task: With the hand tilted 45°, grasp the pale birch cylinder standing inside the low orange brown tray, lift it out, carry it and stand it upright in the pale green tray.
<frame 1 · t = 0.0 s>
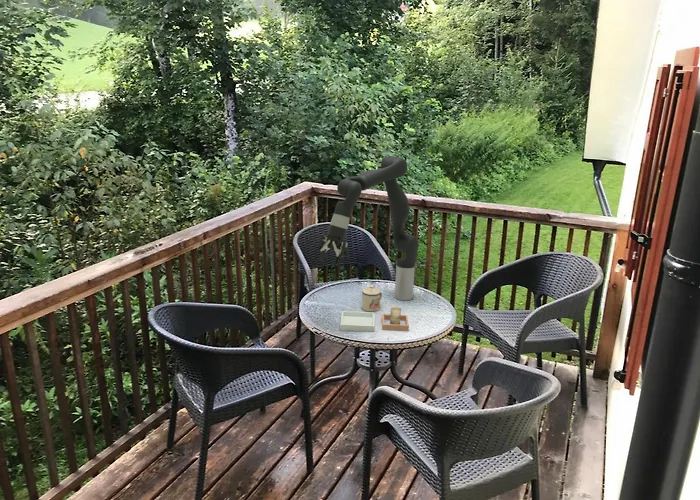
hand: (328, 263, 237), 31 cm above the table, tool tilted 20°, fingers open, 8 cm apart
orange brown tray: (394, 324, 255), on the table
teacup with lid: (372, 307, 273), on the table
pale green tray: (357, 324, 254), on the table
birch cylinder: (395, 316, 254), in the orange brown tray
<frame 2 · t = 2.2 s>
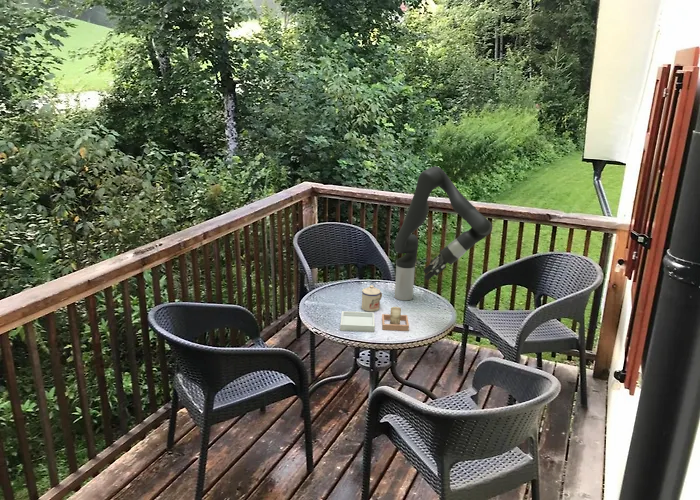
hand: (425, 275, 247), 25 cm above the table, tool tilted 45°, fingers open, 8 cm apart
nothing on the table moved.
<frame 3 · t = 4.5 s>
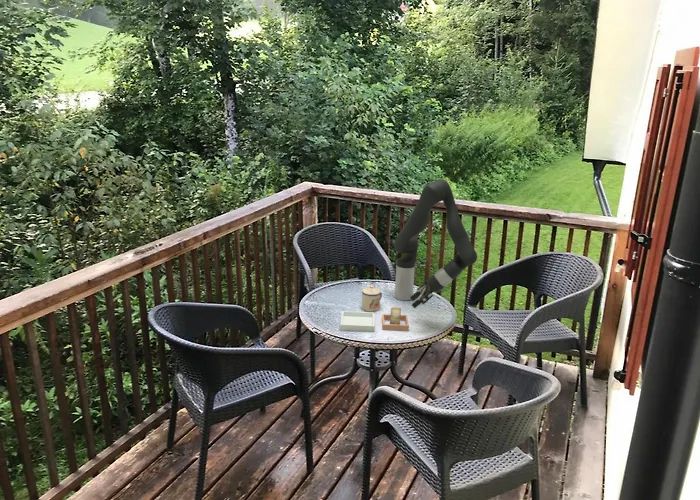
hand: (412, 302, 251), 11 cm above the table, tool tilted 45°, fingers open, 8 cm apart
nothing on the table moved.
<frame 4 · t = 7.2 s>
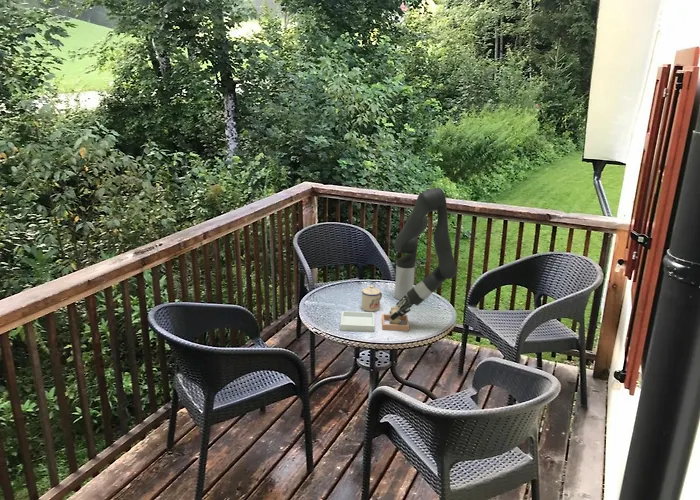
hand: (391, 316, 254), 4 cm above the table, tool tilted 45°, fingers closed on birch cylinder, 4 cm apart
birch cylinder: (395, 316, 254), in the orange brown tray, touching gripper
everything else where it was.
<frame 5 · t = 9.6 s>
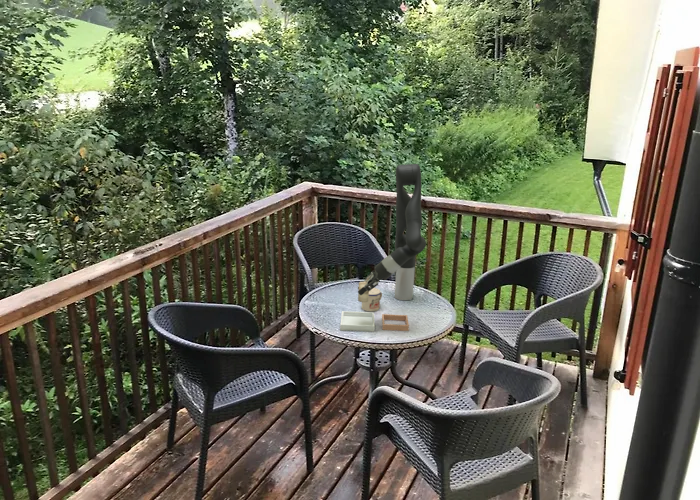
hand: (359, 291, 249), 16 cm above the table, tool tilted 45°, fingers closed on birch cylinder, 4 cm apart
birch cylinder: (363, 292, 249), point 16 cm above the table, touching gripper
everything else where it was.
when the fingers open (6 cm above the table, at t = 12.0 s): birch cylinder drops 1 cm, resting on pale green tray.
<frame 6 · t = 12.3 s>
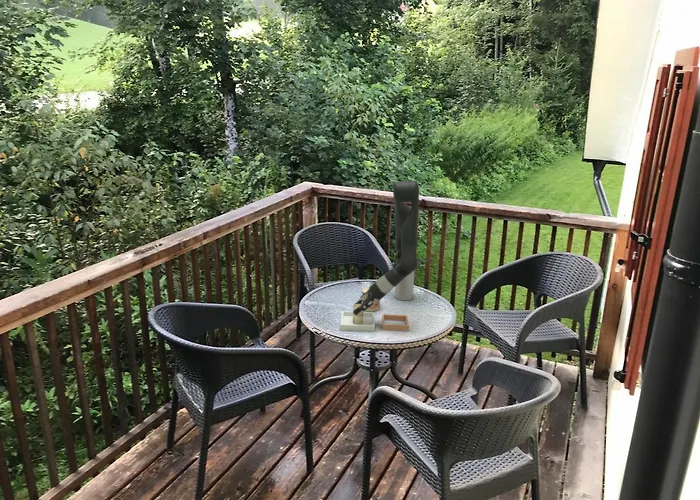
hand: (354, 310, 252), 7 cm above the table, tool tilted 45°, fingers open, 6 cm apart
birch cylinder: (358, 314, 253), in the pale green tray, point 5 cm above the table
everything else where it was.
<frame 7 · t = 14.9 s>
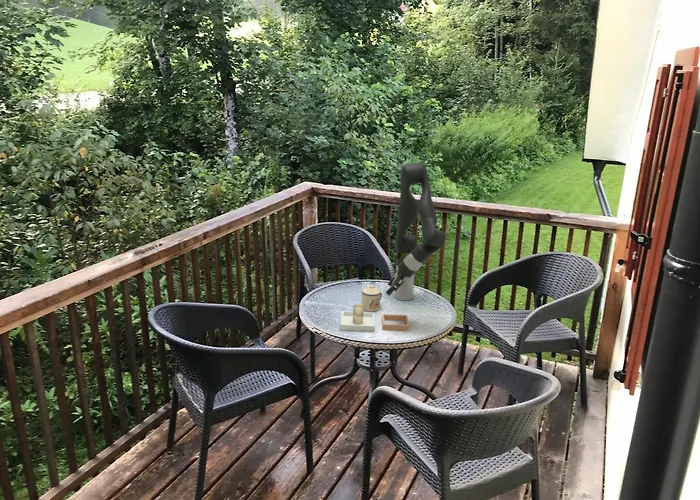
hand: (388, 289, 253), 16 cm above the table, tool tilted 35°, fingers open, 8 cm apart
nothing on the table moved.
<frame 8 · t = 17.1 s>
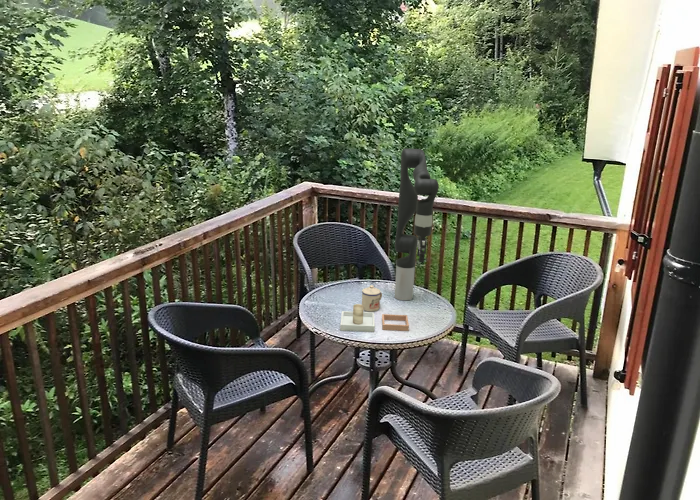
hand: (420, 258, 252), 30 cm above the table, tool pointing down, fingers open, 8 cm apart
nothing on the table moved.
at the end: birch cylinder inside the target area on the pale green tray (0.2 cm from its centre), point 4.8 cm above the pale green tray's base; birch cylinder tilted 0°; the gripper is holding nothing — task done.
